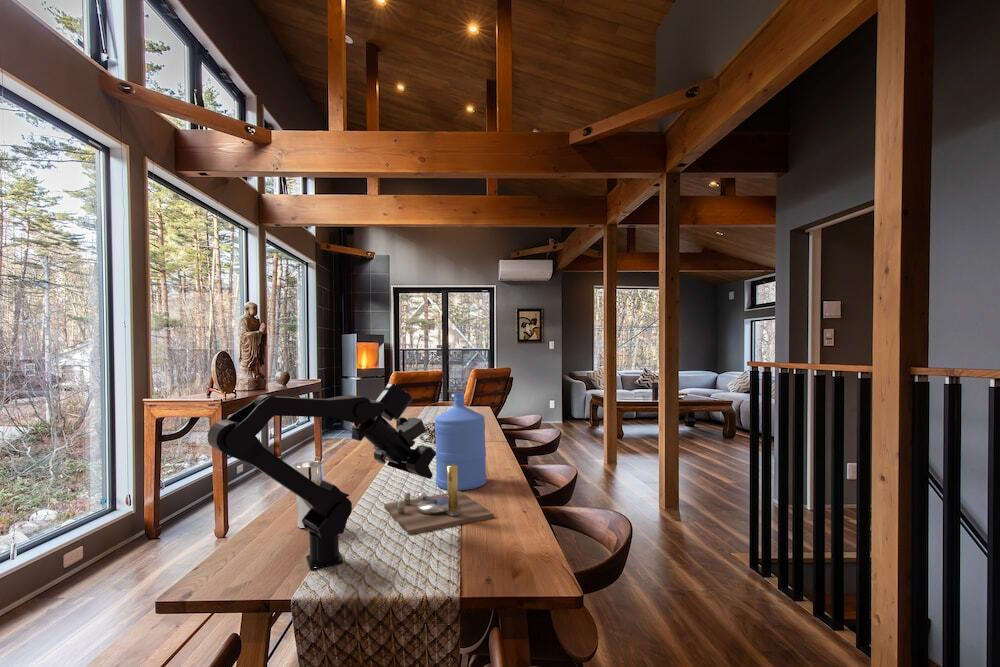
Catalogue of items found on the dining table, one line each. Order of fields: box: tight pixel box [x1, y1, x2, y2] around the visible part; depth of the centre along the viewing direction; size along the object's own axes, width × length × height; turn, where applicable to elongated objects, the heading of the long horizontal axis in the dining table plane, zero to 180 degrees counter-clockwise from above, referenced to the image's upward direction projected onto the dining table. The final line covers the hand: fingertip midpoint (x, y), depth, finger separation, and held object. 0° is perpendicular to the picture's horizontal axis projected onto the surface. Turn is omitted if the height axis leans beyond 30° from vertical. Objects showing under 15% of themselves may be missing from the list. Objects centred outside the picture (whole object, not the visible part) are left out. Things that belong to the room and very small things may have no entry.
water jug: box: [434, 392, 488, 491], centre depth 161 cm, size 16×16×28 cm
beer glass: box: [294, 460, 325, 529], centre depth 129 cm, size 7×7×15 cm
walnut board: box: [383, 490, 494, 535], centre depth 135 cm, size 22×22×4 cm
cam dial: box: [417, 465, 461, 516], centre depth 135 cm, size 16×10×12 cm, turn 43°
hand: (425, 475), depth 125 cm, fingers open, 5 cm apart
